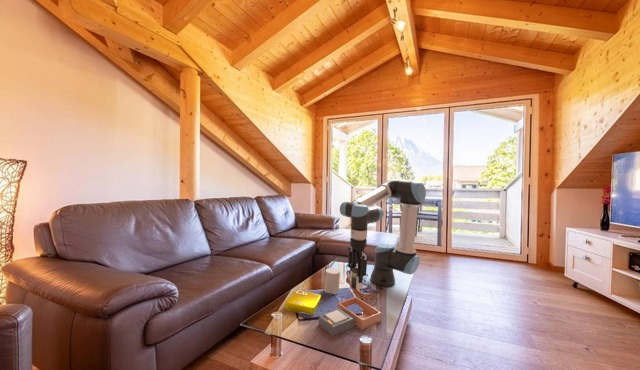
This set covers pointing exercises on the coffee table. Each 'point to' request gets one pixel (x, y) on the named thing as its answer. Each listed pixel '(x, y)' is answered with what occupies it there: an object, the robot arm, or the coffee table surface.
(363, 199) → the robot arm
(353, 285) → the battery cell
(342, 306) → the tray
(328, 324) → the box
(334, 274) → the cup
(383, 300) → the coffee table surface
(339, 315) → the pad
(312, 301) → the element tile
